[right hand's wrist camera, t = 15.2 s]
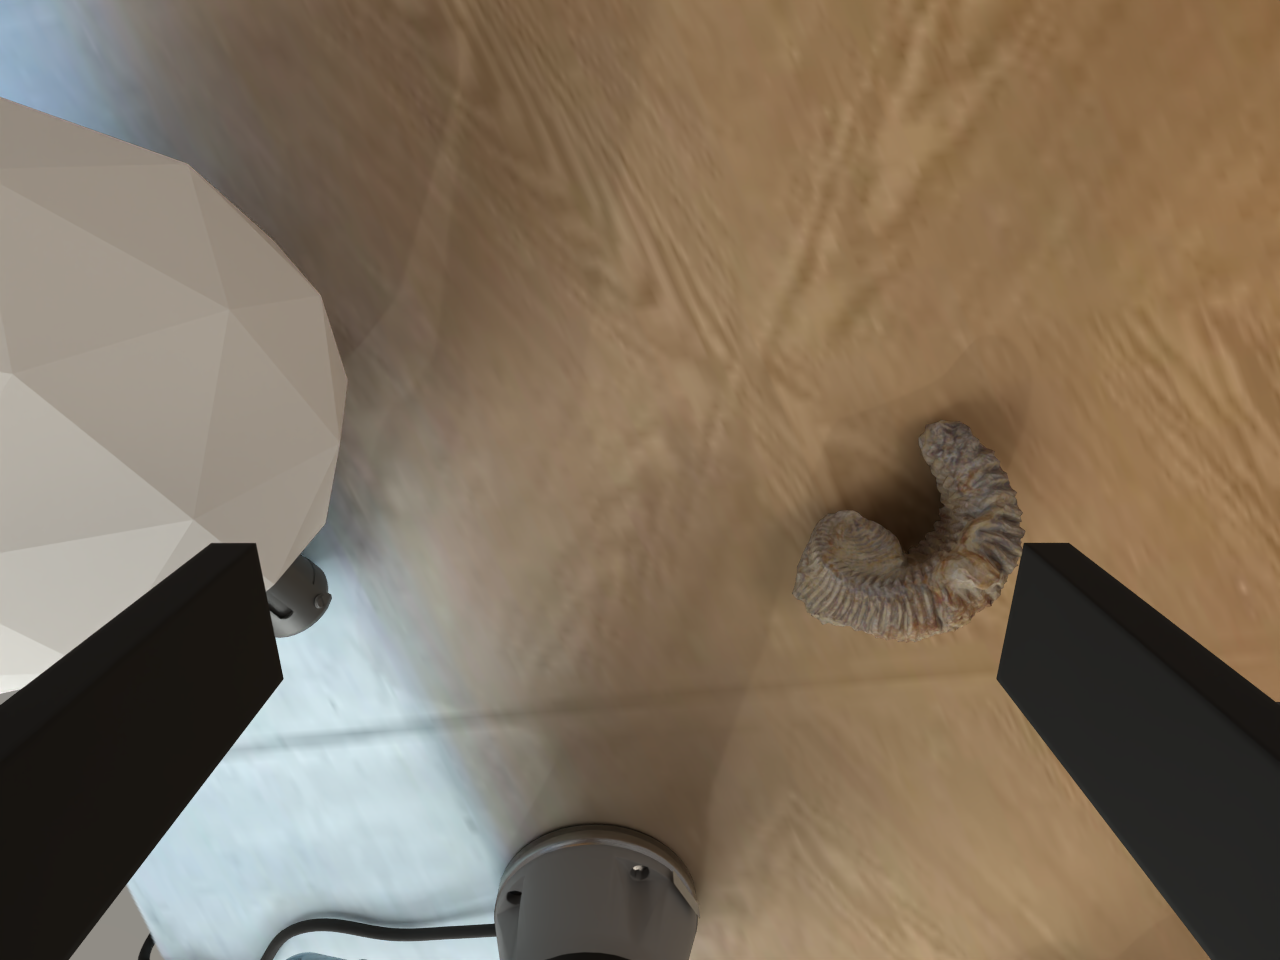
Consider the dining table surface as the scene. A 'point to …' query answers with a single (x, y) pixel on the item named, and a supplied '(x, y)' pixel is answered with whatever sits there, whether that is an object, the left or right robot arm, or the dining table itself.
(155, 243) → the sphere
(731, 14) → the dining table surface
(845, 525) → the seashell
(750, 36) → the dining table surface
